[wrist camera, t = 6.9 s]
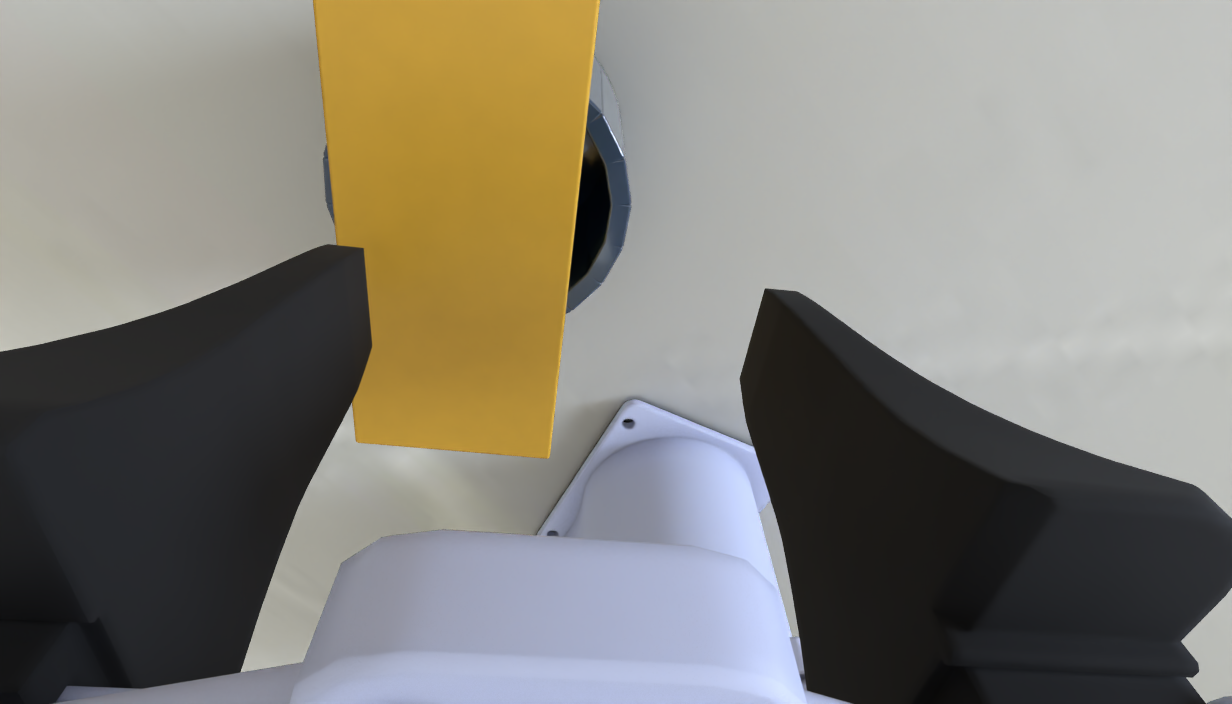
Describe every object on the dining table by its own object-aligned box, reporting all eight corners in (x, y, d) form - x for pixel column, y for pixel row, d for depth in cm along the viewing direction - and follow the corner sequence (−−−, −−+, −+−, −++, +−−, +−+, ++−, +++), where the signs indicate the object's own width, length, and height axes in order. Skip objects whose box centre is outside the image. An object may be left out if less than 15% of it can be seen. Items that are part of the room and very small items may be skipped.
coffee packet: (555, 385, 18) (549, 459, 16) (388, 369, 18) (354, 443, 15) (600, -28, 13) (601, -13, 11) (363, -64, 13) (306, -59, 10)
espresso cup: (562, 272, 23) (552, 371, 18) (362, 181, 21) (290, 264, 16) (663, 82, 20) (685, 139, 15) (437, -45, 18) (376, -29, 13)
